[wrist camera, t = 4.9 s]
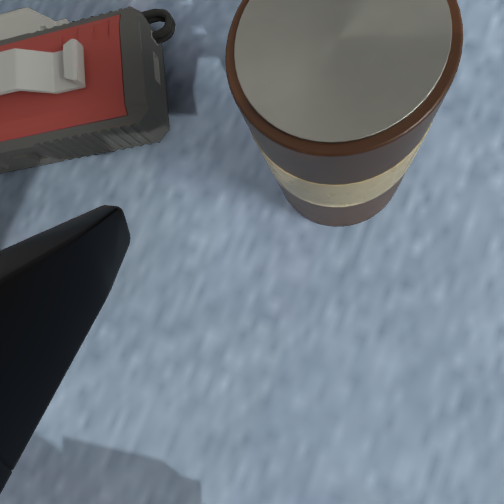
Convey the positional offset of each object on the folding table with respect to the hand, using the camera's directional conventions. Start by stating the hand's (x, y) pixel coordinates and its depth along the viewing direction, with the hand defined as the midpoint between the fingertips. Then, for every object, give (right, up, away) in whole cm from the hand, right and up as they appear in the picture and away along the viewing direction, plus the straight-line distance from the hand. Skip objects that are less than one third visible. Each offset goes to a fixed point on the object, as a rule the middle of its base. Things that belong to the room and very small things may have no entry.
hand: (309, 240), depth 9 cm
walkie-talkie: (-15, +9, +16) cm, 24 cm away
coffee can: (+3, +4, +12) cm, 13 cm away
